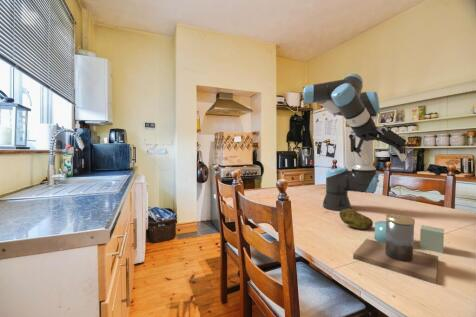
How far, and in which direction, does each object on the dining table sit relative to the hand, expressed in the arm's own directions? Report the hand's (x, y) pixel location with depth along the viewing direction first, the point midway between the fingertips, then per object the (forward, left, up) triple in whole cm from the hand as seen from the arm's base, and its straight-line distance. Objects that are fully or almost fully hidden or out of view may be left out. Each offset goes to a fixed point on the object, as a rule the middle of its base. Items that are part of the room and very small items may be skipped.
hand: (384, 160), depth 91 cm
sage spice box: (+15, -5, -30) cm, 34 cm away
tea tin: (+8, -23, -29) cm, 38 cm away
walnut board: (+7, -23, -30) cm, 39 cm away
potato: (-10, 0, -31) cm, 32 cm away
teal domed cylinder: (+3, -7, -31) cm, 31 cm away
